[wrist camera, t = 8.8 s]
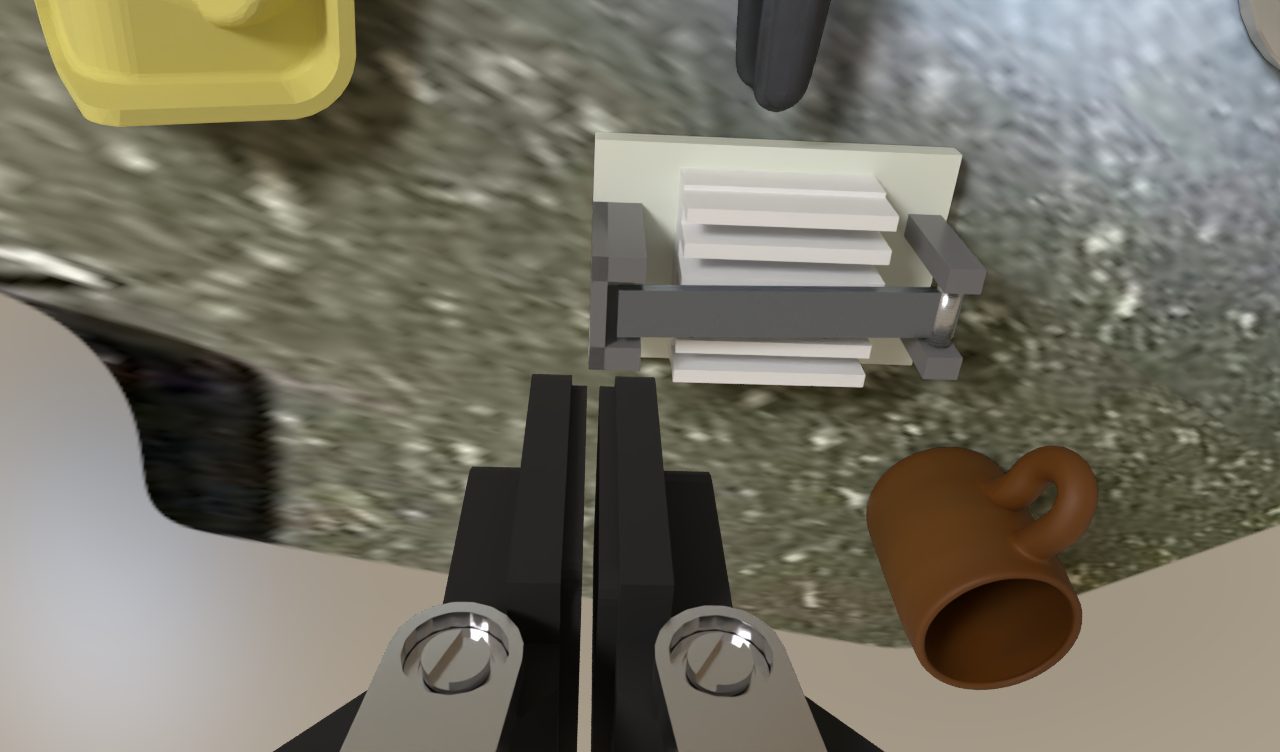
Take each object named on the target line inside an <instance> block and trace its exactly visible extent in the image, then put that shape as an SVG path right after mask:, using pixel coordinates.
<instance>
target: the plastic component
mask: <svg viewBox="0 0 1280 752" xmlns="http://www.w3.org/2000/svg"><path fill="white" fill-rule="evenodd" d="M34 1H35V4H36V8H37V12H38V16H39V19H40V23H41V26H42V29H43V33H44V36H45V39H46V42H47V45H48V48H49V51H50V54H51V57H52V60H53V62H54V65H55V67H56V70H57V72H58V74H59V76H60V78H61V80H62V81H63V83H64V85H65V86H66V88H67V89H68V91H69V93H70V94H71V96H72V98H73V99H74V101H75V103H76V104H77V106H78V108H79V109H80V111H81V113H82V114H83V116H84V117H85V118H87V119H88V120H89V121H92V122H95V123H99V124H102V125H110V126H119V127H121V126H145V125H170V124H194V123H218V122H242V121H266V120H290V119H299V118H303V117H307V116H311V115H314V114H316V113H318V112H320V111H322V110H323V109H325V108H327V107H329V106H330V105H331V104H332V103H333V102H334V101H335V100H336V99H337V98H339V97H340V96H341V94H342V93H343V91H344V90H345V88H346V87H347V85H348V84H349V81H350V79H351V77H352V74H353V71H354V66H355V60H356V38H355V10H354V0H34Z"/></svg>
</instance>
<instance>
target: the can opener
mask: <svg viewBox="0 0 1280 752" xmlns="http://www.w3.org/2000/svg"><path fill="white" fill-rule="evenodd" d="M830 1H831V0H738V16H737V40H736V67H737V72H738V74H739V76H740V78H741V79H742V81H743V82H744V83H745V84H746V85H748V86H750V87H752V88H753V91H754V95H755V98H756V100H757V102H758V104H759V105H760V106H761V107H763V108H765V109H767V110H768V111H772V112H780V111H784V110H786V109H788V108H790V107H793V106H794V105H795V104H796V103H798V102H799V100H800V99H801V98H802V97H803V95H804V94H805V92H806V90H807V87H808V84H809V81H810V78H811V75H812V71H813V67H814V64H815V61H816V56H817V53H818V49H819V46H820V41H821V38H822V33H823V29H824V25H825V21H826V17H827V14H828V10H829V5H830Z"/></svg>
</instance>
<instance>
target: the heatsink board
mask: <svg viewBox="0 0 1280 752" xmlns="http://www.w3.org/2000/svg"><path fill="white" fill-rule="evenodd" d="M962 156H963V155H961V154H960V153H959V152H958V151H957V150H956V149H955V148H947V147H924V146H901V145H879V144H856V143H833V142H810V141H788V140H765V139H742V138H720V137H697V136H674V135H651V134H629V133H606V132H595V162H594V195H593V229H592V262H591V295H590V328H589V369H595V370H629V371H640V361H641V357H648V358H669V361H670V363H671V371H672V379H673V382H692V383H727V384H762V385H797V386H833V387H863V384H864V380H865V373H864V371H863V369H862V367H861V364H882V365H912V362H913V363H914V364H915V366H916V368H917V370H918V372H919V373H920V375H921V377H922V379H940V380H957V378H958V375H959V371H960V367H961V364H962V360H963V358H962V356H961V355H960V353H959V352H958V350H957V349H956V347H955V346H954V344H953V342H952V341H951V342H950V345H949V346H947V347H942V348H941V347H934V346H931V345H929V344H928V343H926V342H925V340H924V339H925V338H713V337H617V336H616V317H617V295H618V285H735V286H861V287H931V283H932V279H933V278H934V279H935V281H936V282H937V284H938V285H939V287H940V288H941V289H942V291H943V292H944V293H948V294H977V295H981V291H982V288H983V284H984V280H985V277H986V273H987V270H986V269H985V267H984V266H983V265H982V264H981V263H980V261H979V260H978V259H977V258H976V257H975V255H974V254H973V253H972V252H971V251H970V249H969V248H968V247H967V246H966V245H965V243H964V242H963V241H962V240H961V239H960V237H959V236H958V235H957V234H956V233H955V231H954V230H953V229H952V228H951V227H950V225H949V224H948V223H947V217H948V213H949V209H950V205H951V201H952V197H953V193H954V189H955V184H956V180H957V176H958V172H959V168H960V164H961V160H962Z"/></svg>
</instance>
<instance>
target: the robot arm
mask: <svg viewBox="0 0 1280 752" xmlns="http://www.w3.org/2000/svg"><path fill="white" fill-rule="evenodd" d="M1239 6H1240V13H1241V16H1242V19H1243V21H1244V24H1245V26H1246V29H1247V31H1248V34H1249V36H1250V39H1251V40H1252V41H1253V43H1254V44H1255V46H1256V47H1257V48H1258V50H1259V51H1260V52H1261V54H1262V55H1263V56H1264V58H1265V59H1266V60H1267V61H1268V62H1270V63H1271V64H1272V65H1274V66H1275V67H1276V68H1278V69H1279V70H1280V0H1239ZM586 408H587V386H572V375H551V374H532V379H531V388H530V396H529V404H528V412H527V420H526V428H525V436H524V444H523V452H522V460H521V468H511V467H472V468H471V469H470V473H469V476H468V481H467V486H466V491H465V496H464V501H463V506H462V511H461V516H460V521H459V526H458V531H457V536H456V541H455V546H454V551H453V556H452V561H451V566H450V571H449V576H448V582H447V586H446V591H445V596H444V601H443V604H442V605H437V606H433V607H431V608H429V609H427V610H424V611H422V612H420V613H418V614H416V615H414V616H413V617H412V618H410V619H409V620H408V621H407V622H406V623H404V624H403V625H402V626H401V627H400V628H399V629H398V631H397V632H396V633H395V635H394V636H393V638H392V639H391V641H390V642H389V644H388V646H387V649H386V651H385V653H384V655H383V657H382V660H381V662H380V664H379V666H378V668H377V671H376V673H375V675H374V677H373V680H372V682H371V684H370V686H369V688H368V690H367V691H365V692H364V693H362V694H361V695H359V696H358V697H356V698H355V699H353V700H351V701H350V702H349V703H347V704H346V705H344V706H342V707H341V708H339V709H338V710H336V711H335V712H333V713H332V714H330V715H329V716H327V717H325V718H324V719H322V720H321V721H320V722H318V723H316V724H315V725H314V726H312V727H310V728H309V729H307V730H306V731H304V732H302V733H301V734H299V735H298V736H296V737H295V738H293V739H292V740H290V741H289V742H287V743H286V744H284V745H283V746H281V747H280V748H278V749H277V750H275V751H273V752H577V730H578V729H577V728H578V696H579V695H578V694H579V663H580V661H579V660H580V630H581V597H582V561H583V523H584V485H585V446H586ZM592 632H593V634H592V715H591V716H592V717H591V752H884V751H882V750H881V749H880V748H878V747H877V746H875V745H874V744H873V743H871V742H870V741H868V740H867V739H866V738H864V737H863V736H861V735H860V734H858V733H857V732H855V731H854V730H853V729H851V728H850V727H848V726H847V725H846V724H844V723H843V722H841V721H840V720H839V719H837V718H836V717H834V716H833V715H831V714H830V713H829V712H827V711H826V710H824V709H823V708H821V707H820V706H819V705H817V704H815V703H814V702H813V701H812V700H810V699H809V698H807V697H806V696H804V693H803V691H802V689H801V686H800V684H799V681H798V679H797V676H796V674H795V671H794V669H793V667H792V664H791V662H790V659H789V657H788V654H787V652H786V649H785V647H784V645H783V644H782V642H781V641H780V639H779V637H778V636H777V634H776V632H775V631H773V630H772V629H771V628H770V627H769V626H768V625H767V624H766V623H764V622H763V621H762V620H761V619H759V618H757V617H755V616H753V615H751V614H749V613H747V612H745V611H743V610H739V609H735V608H733V607H732V601H731V594H730V588H729V582H728V576H727V570H726V564H725V558H724V552H723V545H722V539H721V533H720V527H719V521H718V515H717V509H716V503H715V496H714V490H713V484H712V479H711V475H710V473H709V472H688V471H664V469H663V458H662V448H661V437H660V426H659V415H658V404H657V394H656V383H655V378H654V377H620V376H616V377H615V387H606V386H600V391H599V416H598V443H597V469H596V495H595V522H594V552H593V630H592Z"/></svg>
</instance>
